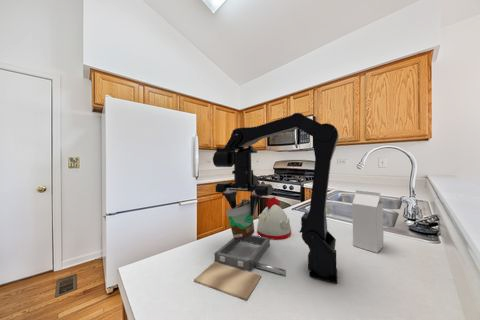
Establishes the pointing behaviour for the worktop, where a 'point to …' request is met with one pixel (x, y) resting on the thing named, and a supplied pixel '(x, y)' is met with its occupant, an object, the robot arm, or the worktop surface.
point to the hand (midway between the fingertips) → (243, 214)
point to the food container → (241, 220)
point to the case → (242, 263)
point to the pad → (229, 280)
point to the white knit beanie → (273, 222)
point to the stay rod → (269, 268)
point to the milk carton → (368, 221)
